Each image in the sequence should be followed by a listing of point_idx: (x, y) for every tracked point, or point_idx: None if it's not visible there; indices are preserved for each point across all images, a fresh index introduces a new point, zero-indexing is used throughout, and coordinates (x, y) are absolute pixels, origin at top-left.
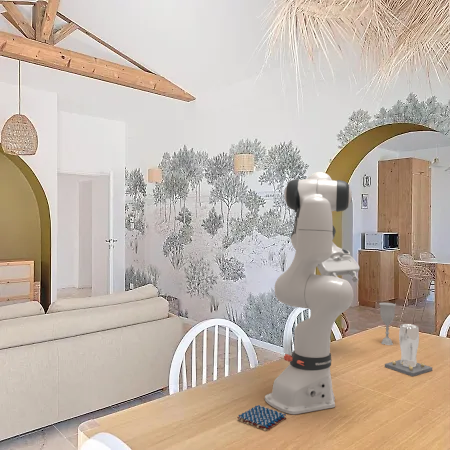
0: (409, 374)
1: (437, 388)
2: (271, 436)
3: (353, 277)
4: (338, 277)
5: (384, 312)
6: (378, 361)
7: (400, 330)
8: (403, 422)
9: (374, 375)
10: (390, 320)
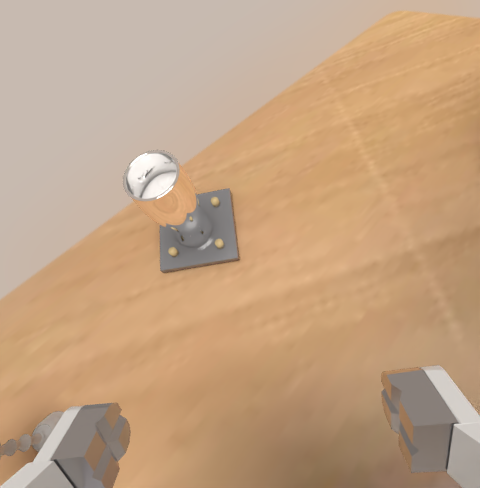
0: (231, 198)
1: (239, 136)
2: None
3: (93, 463)
4: (467, 432)
5: None
6: (219, 300)
7: (182, 190)
8: (405, 58)
9: (306, 224)
10: None
